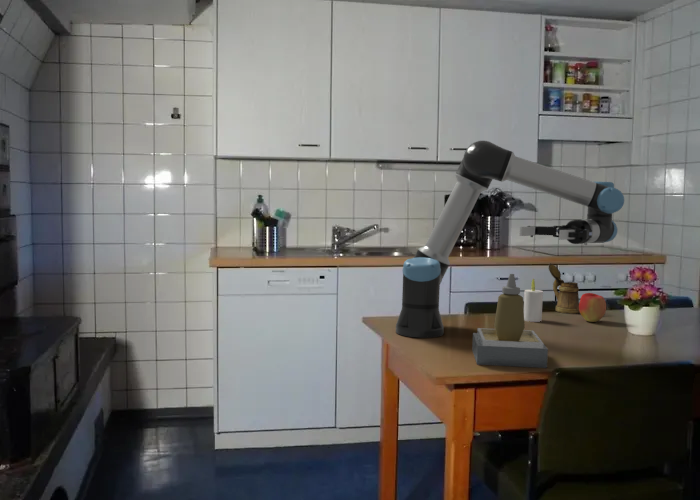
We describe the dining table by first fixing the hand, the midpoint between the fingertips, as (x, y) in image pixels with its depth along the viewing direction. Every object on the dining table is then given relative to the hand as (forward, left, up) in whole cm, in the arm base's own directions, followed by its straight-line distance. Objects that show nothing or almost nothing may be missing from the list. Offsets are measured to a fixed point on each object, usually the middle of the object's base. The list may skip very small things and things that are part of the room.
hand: (539, 233), depth 197 cm
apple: (+27, +45, -34) cm, 62 cm away
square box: (-10, -15, -34) cm, 38 cm away
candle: (+6, +43, -34) cm, 55 cm away
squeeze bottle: (-10, -15, -29) cm, 34 cm away
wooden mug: (+21, +65, -34) cm, 76 cm away
